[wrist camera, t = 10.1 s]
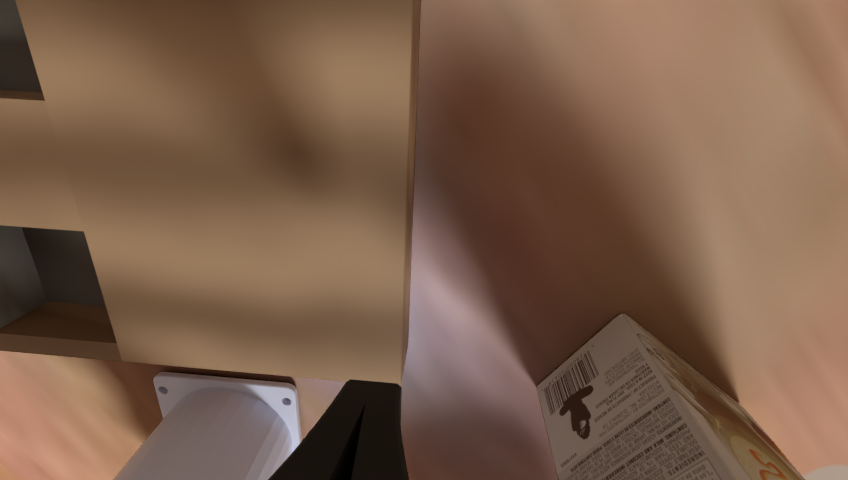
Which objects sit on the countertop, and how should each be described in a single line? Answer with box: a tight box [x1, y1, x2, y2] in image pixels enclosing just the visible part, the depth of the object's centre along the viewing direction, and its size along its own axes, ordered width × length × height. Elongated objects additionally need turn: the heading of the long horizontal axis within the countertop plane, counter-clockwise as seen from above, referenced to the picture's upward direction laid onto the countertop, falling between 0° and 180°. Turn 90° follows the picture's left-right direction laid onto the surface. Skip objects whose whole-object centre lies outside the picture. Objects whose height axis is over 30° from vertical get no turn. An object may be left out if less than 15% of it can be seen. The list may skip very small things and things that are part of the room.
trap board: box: [0, 0, 421, 386], centre depth 17 cm, size 18×30×3 cm, turn 87°
